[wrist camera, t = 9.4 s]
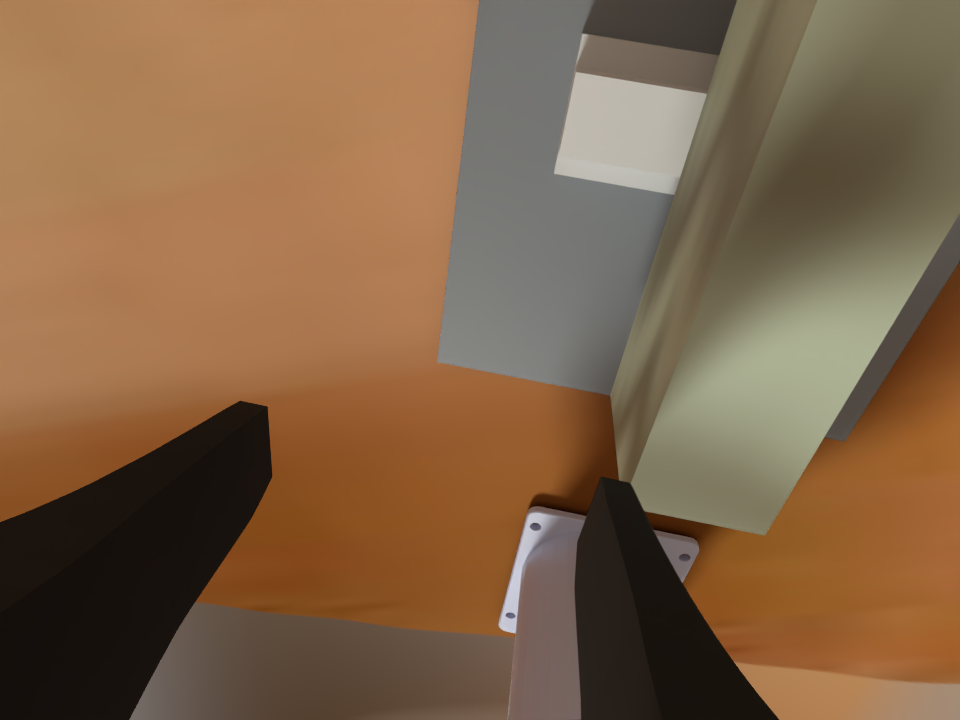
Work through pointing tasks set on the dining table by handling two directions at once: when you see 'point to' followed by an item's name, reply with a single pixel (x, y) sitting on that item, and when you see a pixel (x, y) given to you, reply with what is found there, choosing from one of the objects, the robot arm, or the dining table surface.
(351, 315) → the dining table surface
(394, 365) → the dining table surface
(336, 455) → the dining table surface
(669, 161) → the stand
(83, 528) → the robot arm
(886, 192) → the bar
